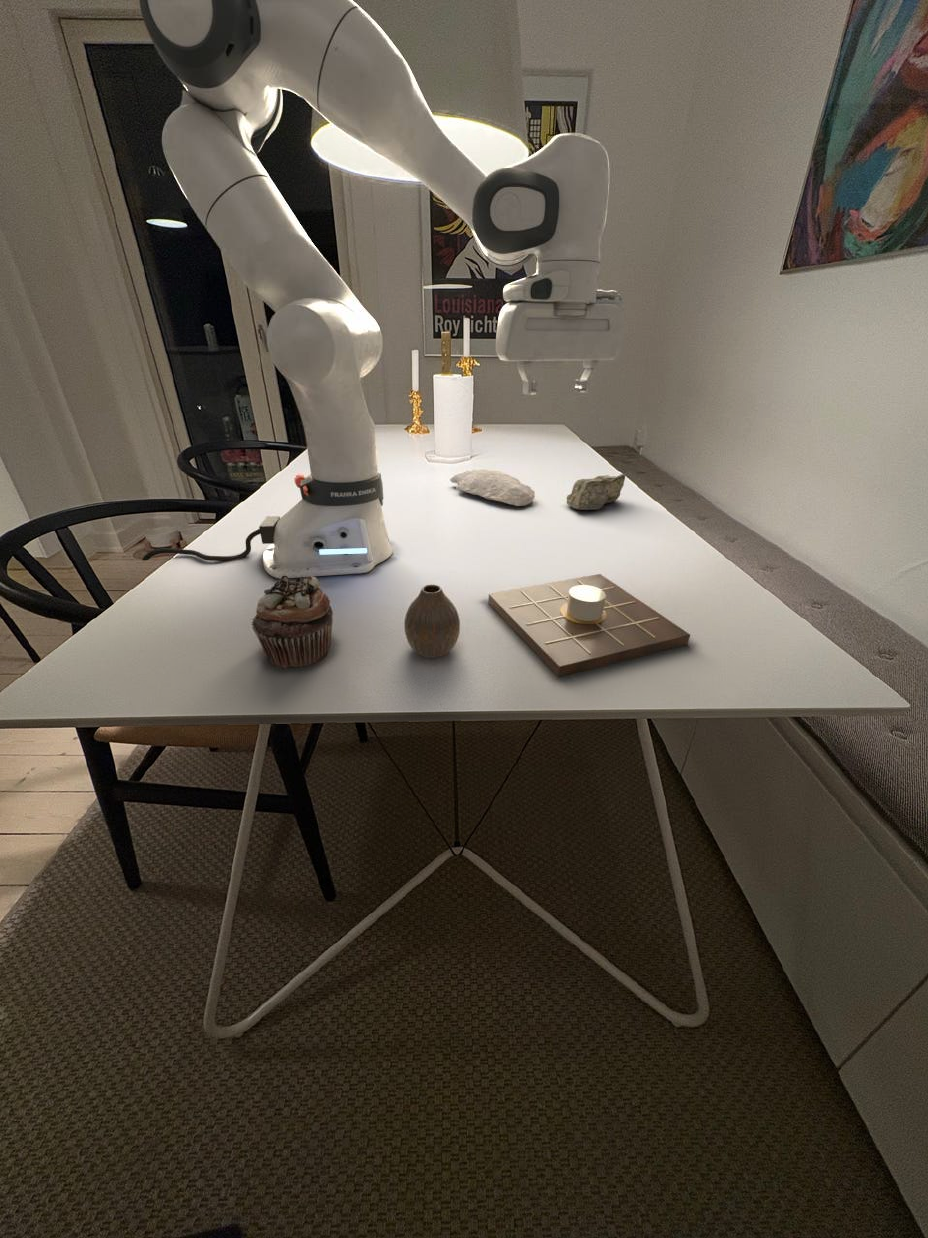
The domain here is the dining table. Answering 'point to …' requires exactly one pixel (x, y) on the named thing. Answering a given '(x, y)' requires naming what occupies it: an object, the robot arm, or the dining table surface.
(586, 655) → the board
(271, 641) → the cupcake
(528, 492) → the stone
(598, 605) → the game stone
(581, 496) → the rock
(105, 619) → the dining table surface
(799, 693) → the dining table surface
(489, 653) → the dining table surface
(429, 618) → the vase
